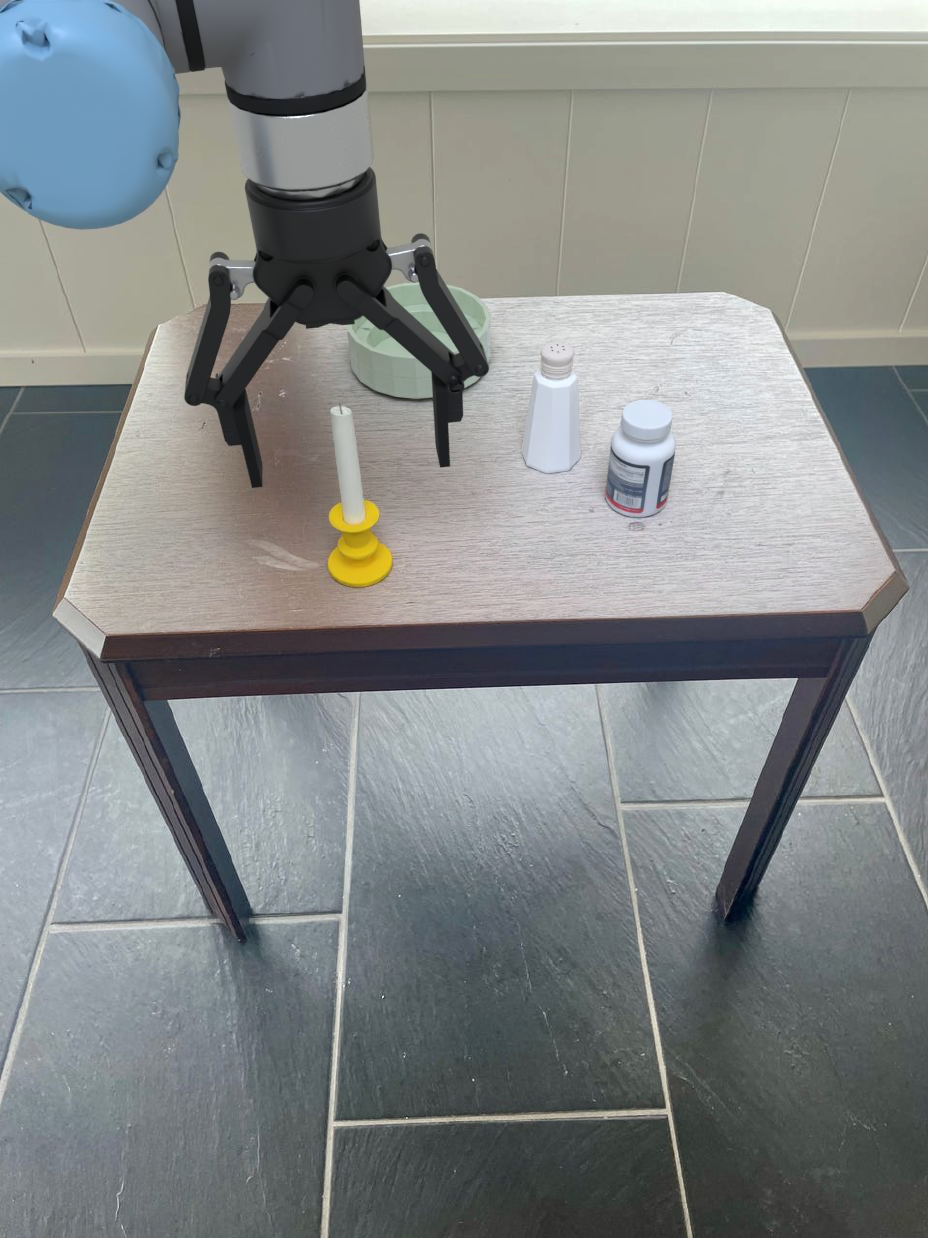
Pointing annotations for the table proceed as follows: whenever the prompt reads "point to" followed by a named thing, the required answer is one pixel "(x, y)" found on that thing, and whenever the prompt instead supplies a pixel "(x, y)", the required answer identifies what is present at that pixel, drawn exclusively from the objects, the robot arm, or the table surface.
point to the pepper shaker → (553, 412)
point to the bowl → (391, 363)
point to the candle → (354, 514)
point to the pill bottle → (641, 459)
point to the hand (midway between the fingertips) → (350, 466)
